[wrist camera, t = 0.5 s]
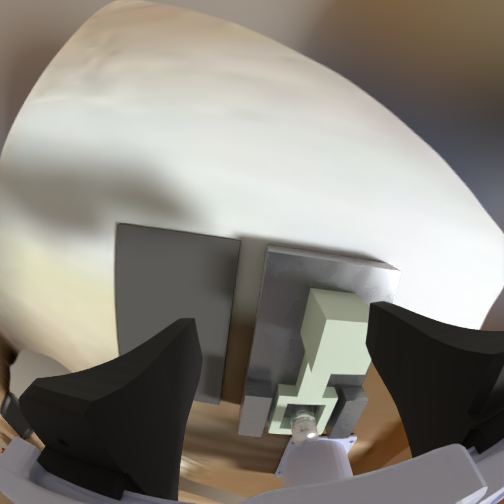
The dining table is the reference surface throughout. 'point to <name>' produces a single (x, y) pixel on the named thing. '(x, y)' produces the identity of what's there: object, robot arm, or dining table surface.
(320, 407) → the sage hook
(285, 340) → the vise
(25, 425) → the phone
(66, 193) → the dining table surface
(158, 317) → the black mat
